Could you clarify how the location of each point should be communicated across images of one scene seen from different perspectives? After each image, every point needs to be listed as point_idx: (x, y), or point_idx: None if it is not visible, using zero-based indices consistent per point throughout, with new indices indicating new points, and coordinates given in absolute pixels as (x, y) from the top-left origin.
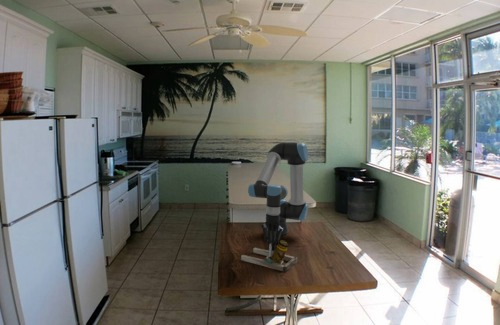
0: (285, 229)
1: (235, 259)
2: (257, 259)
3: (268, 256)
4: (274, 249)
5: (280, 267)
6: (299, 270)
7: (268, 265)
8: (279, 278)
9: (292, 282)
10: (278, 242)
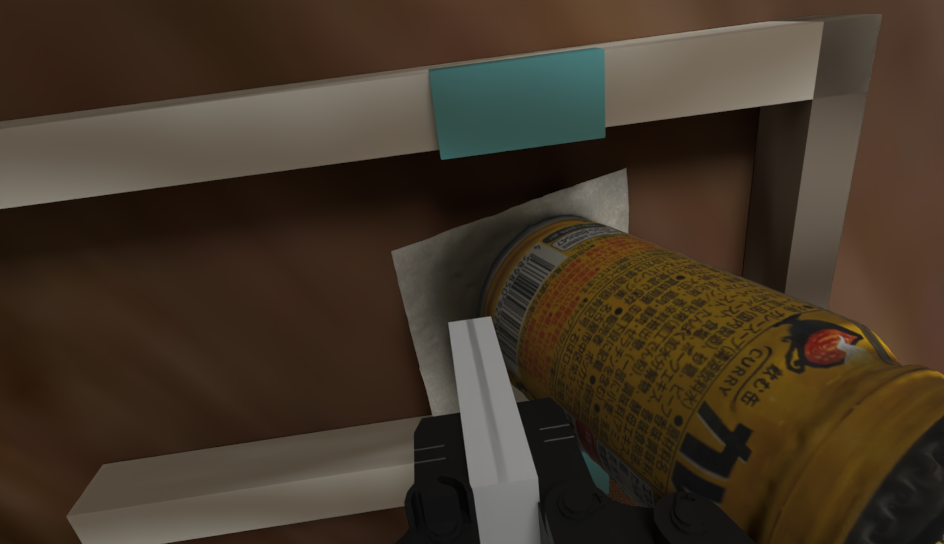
0: None
1: (54, 527)
2: (357, 500)
3: (435, 367)
4: (565, 425)
5: None
6: (914, 263)
7: None
8: None
9: None
10: (739, 542)
